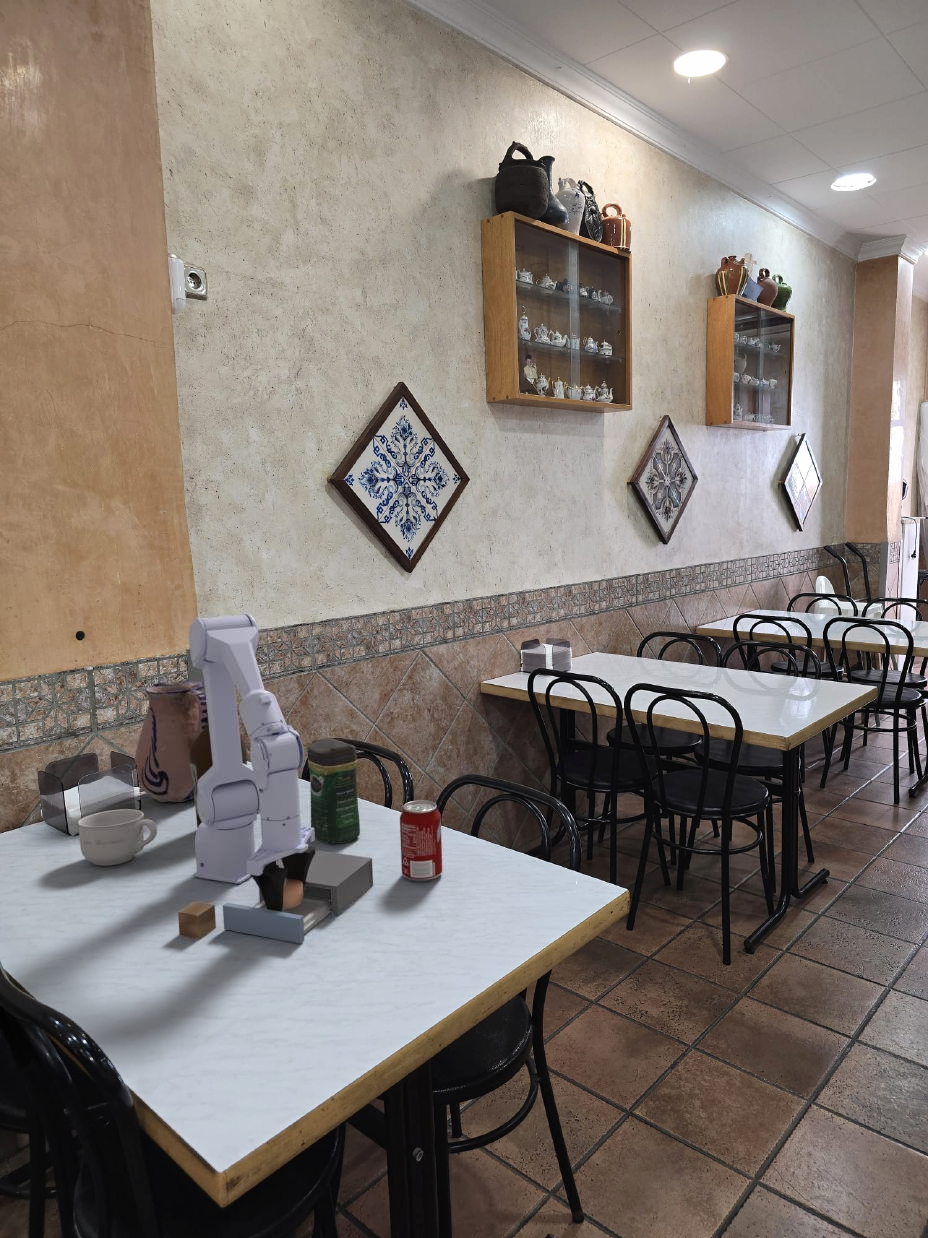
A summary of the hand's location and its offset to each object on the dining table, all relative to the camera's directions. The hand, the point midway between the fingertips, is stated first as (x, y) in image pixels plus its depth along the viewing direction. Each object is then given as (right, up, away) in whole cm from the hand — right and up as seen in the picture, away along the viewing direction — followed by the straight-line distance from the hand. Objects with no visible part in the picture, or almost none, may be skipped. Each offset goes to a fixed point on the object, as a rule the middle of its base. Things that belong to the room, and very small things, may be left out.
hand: (285, 903), depth 122 cm
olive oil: (-21, +1, +38) cm, 44 cm away
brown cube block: (-12, -3, -2) cm, 13 cm away
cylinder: (0, 0, 0) cm, 0 cm away
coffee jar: (+2, +1, +34) cm, 34 cm away
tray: (0, -2, 0) cm, 2 cm away
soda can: (+20, -1, +15) cm, 25 cm away
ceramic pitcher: (-35, +3, +59) cm, 69 cm away
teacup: (-35, -1, +25) cm, 43 cm away
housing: (+3, -2, +9) cm, 9 cm away
